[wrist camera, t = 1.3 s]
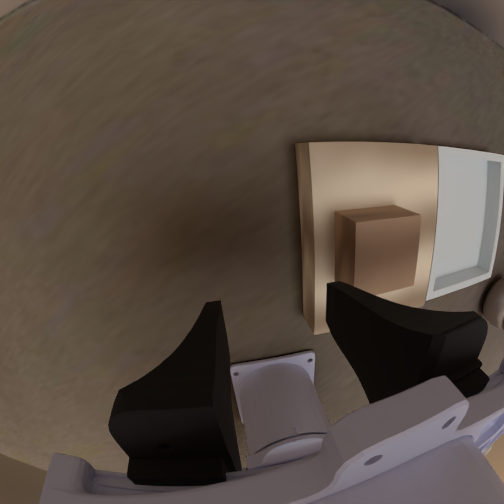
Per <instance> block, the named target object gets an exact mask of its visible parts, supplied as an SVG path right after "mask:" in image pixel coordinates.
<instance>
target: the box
mask: <svg viewBox="0 0 504 504" xmlns="http://www.w3.org/2000/svg"><path fill="white" fill-rule="evenodd" d="M437 147H438V197H437V215H436V228H435V238H434V247H433V255H432V263H431V269H430V276H429V282H428V287H427V293H426V298H425V301H427V300H430V299H433V298H436V297H439V296H442V295H445V294H448V293H450V292H453V291H456V290H459V289H462V288H464V287H467V286H470V285H472V284H475V283H478V282H480V281H483V280H485V279H488V278H490V277H491V274H492V269H493V265H494V260H495V254H496V249H497V243H498V237H499V230H500V222H501V213H502V202H503V186H504V155H500V154H494V153H488V152H482V151H475V150H468V149H461V148H452V147H443V146H437Z"/></svg>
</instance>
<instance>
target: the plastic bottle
mask: <svg viewBox="0 0 504 504" xmlns="http://www.w3.org/2000/svg"><path fill="white" fill-rule="evenodd" d="M483 312H484V316H485V318H486V319H487V320H488V321H489V323H490V324H492V325H493V326H495V327H497V328H499V329H502V330H504V279H500V280H497V281H496V282H495V283H494V284H493V285H492V287H491V288H490V290H489V292H488V294H487V296H486V298H485V301H484V304H483Z"/></svg>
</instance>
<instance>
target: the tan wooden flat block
mask: <svg viewBox="0 0 504 504" xmlns="http://www.w3.org/2000/svg"><path fill="white" fill-rule="evenodd" d="M295 151H296V163H297V176H298V190H299V206H300V224H301V246H302V275H303V316H304V317H305V319H306V321H307V323H308V325H309V326H310V328H311V330H312V332H313V334H314V335H317V334H322V333H326V332H330V330H329V328H328V325H327V323H326V291H327V283H330V282H335V211H341V210H351V209H361V208H371V207H382V206H393V205H396V206H399V207H402V208H404V209H407V210H410V211H412V212H415V213H418V214H420V215H421V228H420V240H419V250H418V258H417V266H416V274H415V281H414V286H410V287H406V288H402V289H398V290H395V291H391V292H387V293H383V294H378V295H376V296H378V297H381V298H384V299H386V300H389V301H392V302H395V303H398V304H402V305H406V306H410V307H414V308H418V307H421V306H424V303H425V298H426V293H427V287H428V282H429V276H430V269H431V263H432V255H433V247H434V238H435V228H436V215H437V197H438V147H437V146H434V145H422V144H408V143H389V142H309V143H296V144H295Z"/></svg>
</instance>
